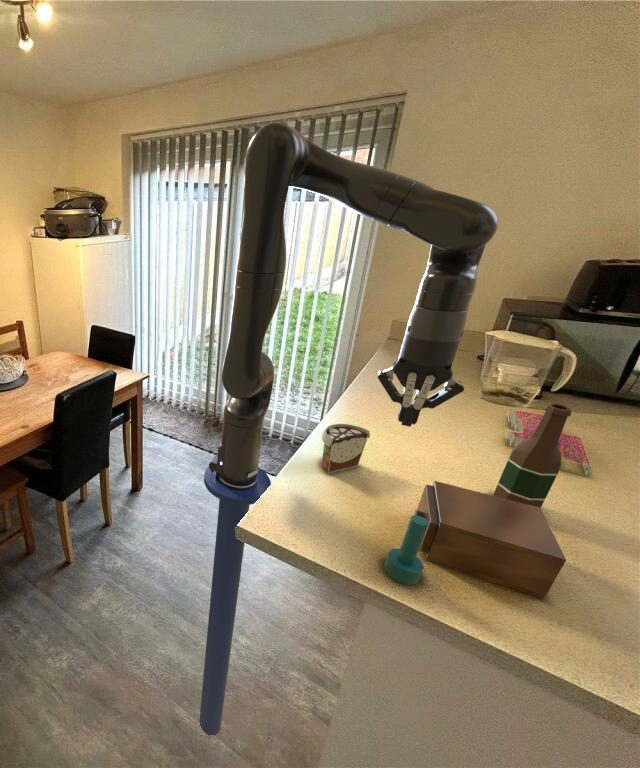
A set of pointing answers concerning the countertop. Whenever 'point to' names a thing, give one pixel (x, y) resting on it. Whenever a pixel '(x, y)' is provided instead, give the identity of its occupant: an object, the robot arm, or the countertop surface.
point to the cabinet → (495, 540)
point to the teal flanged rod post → (407, 554)
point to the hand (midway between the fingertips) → (405, 424)
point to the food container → (343, 446)
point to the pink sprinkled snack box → (561, 441)
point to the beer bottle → (535, 461)
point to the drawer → (428, 516)
